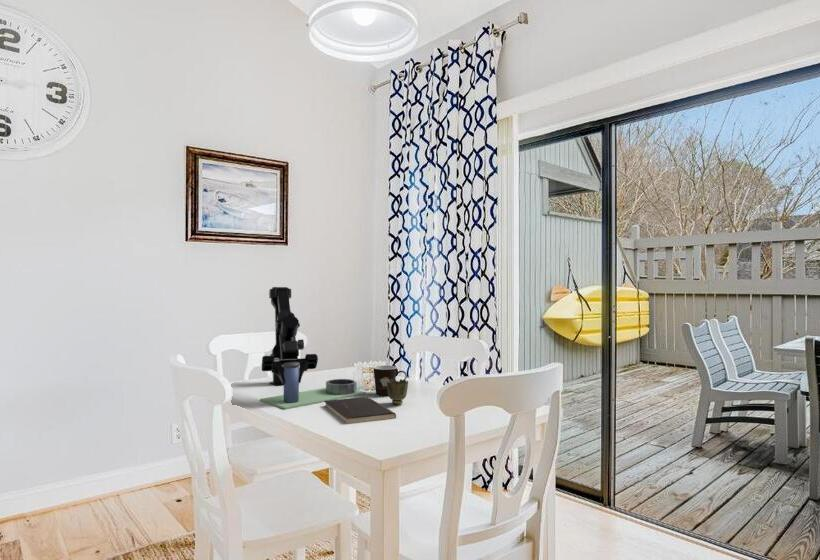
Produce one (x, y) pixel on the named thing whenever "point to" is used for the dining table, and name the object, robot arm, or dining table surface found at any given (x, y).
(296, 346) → the robot arm
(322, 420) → the dining table surface
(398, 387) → the cup
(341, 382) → the cup
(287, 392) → the golf ball sleeve
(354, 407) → the hardcover book
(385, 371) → the coffee mug
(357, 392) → the putting mat
